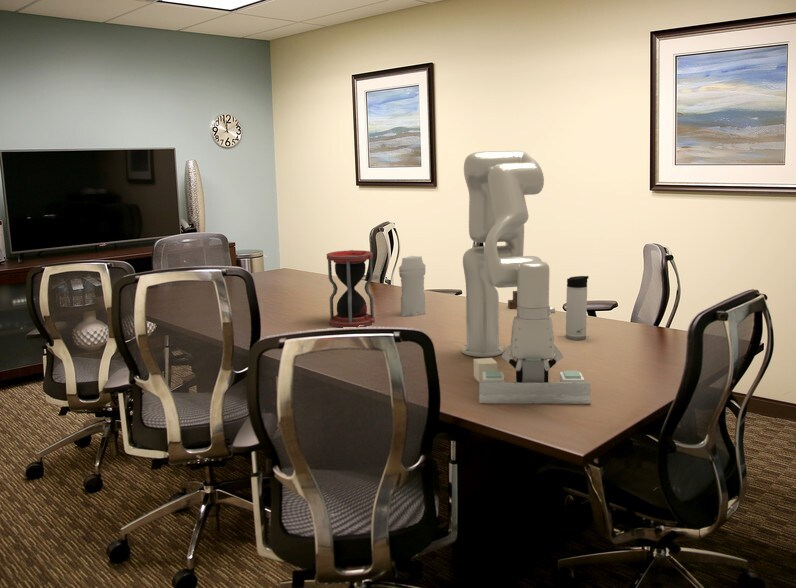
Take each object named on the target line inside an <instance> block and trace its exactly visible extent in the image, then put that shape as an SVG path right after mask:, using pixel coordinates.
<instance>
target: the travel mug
mask: <svg viewBox="0 0 796 588" xmlns="http://www.w3.org/2000/svg"><path fill="white" fill-rule="evenodd" d="M566 279H567V280H566V303H565V305H566V310H565V312H566V313H565V338H567V339H568V340H571V341H572V340H573V341H583V340H585V339H586V338H587V317H588V315H587V313H588V312H587V309H588V308H587V305H588V279H589V275H577V276H570V277H569V278H566Z"/></svg>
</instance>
